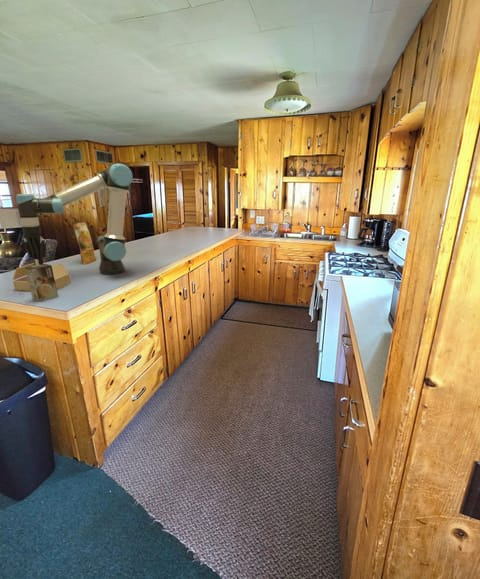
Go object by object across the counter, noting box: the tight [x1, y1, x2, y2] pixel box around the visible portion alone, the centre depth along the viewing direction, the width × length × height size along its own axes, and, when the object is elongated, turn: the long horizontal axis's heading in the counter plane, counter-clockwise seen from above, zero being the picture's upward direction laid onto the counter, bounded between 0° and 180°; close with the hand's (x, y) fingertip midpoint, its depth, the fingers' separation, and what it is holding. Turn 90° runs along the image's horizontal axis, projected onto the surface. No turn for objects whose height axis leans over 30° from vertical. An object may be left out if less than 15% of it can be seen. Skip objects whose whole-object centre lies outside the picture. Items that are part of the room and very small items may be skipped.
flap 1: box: [12, 262, 36, 281], centre depth 158 cm, size 1×14×7 cm
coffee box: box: [25, 263, 59, 302], centre depth 141 cm, size 9×6×16 cm
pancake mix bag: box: [72, 221, 97, 265], centre depth 209 cm, size 7×19×28 cm, turn 176°
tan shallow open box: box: [12, 273, 72, 292], centre depth 159 cm, size 21×16×5 cm
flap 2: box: [52, 262, 70, 280], centre depth 156 cm, size 1×14×7 cm, turn 172°
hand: (40, 270), depth 157 cm, fingers closed
